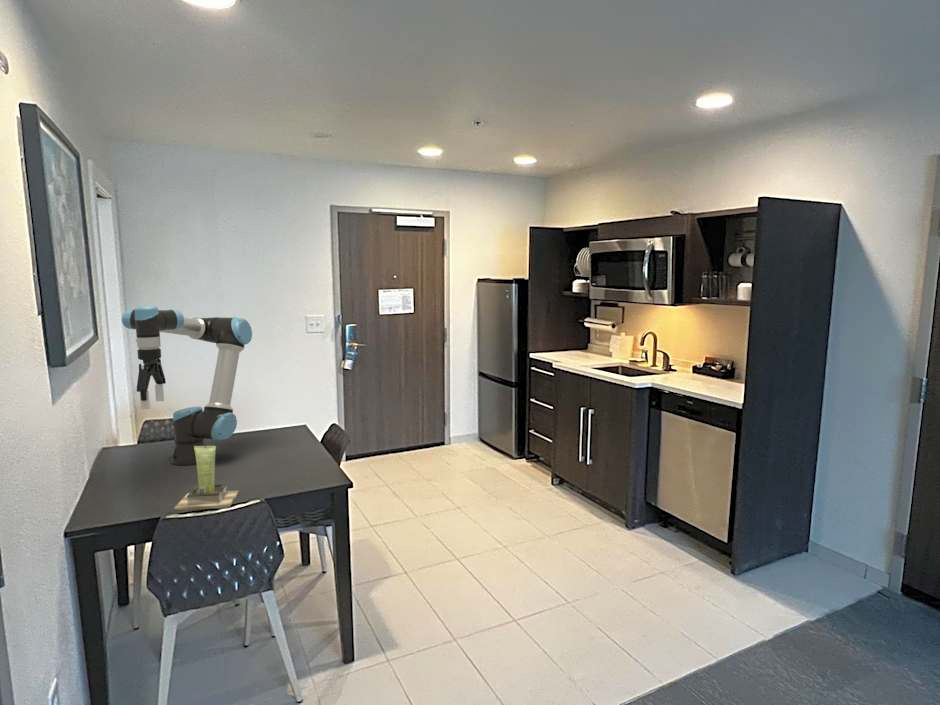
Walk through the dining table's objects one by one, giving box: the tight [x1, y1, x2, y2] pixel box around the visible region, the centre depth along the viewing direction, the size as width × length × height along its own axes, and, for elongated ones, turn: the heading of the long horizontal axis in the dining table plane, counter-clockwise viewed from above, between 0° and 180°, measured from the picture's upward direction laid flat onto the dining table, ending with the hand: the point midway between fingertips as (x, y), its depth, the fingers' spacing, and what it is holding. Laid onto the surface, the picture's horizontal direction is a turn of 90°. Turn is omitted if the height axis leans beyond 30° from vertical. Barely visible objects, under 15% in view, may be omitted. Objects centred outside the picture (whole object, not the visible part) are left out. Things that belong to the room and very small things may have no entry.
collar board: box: [173, 483, 240, 511], centre depth 208 cm, size 14×18×4 cm
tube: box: [194, 445, 217, 494], centre depth 207 cm, size 6×5×20 cm
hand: (153, 405), depth 216 cm, fingers open, 13 cm apart
